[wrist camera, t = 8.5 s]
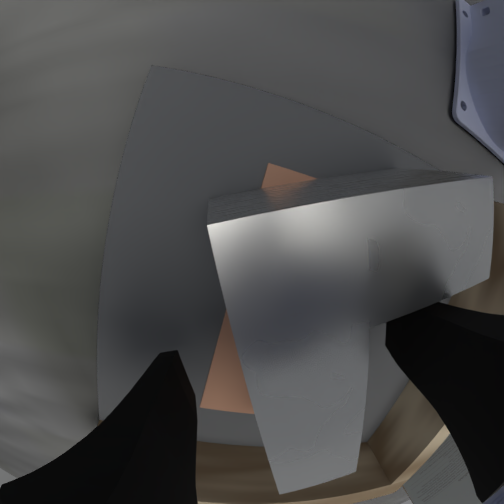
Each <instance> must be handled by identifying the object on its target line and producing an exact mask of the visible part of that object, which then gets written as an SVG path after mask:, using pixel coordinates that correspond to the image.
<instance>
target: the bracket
mask: <svg viewBox="0 0 504 504" xmlns="http://www.w3.org/2000/svg"><path fill="white" fill-rule="evenodd" d="M493 225H494V189H493V177H492V176H484V175H476V174H467V173H458V172H448V171H436V170H423V169H407V168H393V169H384V170H376V171H368V172H360V173H353V174H346V175H339V176H332V177H325V178H319V179H312V180H306V181H300V182H294V183H288V184H282V185H277V186H271V187H266V188H260V189H255V190H250V191H245V192H240V193H235V194H230V195H225V196H220V197H215V198H211V199H209V202H208V216H207V228H208V233H209V237H210V242H211V246H212V250H213V255H214V259H215V263H216V268H217V272H218V276H219V280H220V285H221V289H222V293H223V297H224V301H225V305H226V309H227V313H228V317H229V321H230V325H231V329H232V333H233V337H234V341H235V345H236V348H237V352H238V356H239V360H240V363H241V367H242V371H243V375H244V378H245V382H246V385H247V389H248V393H249V396H250V400H251V403H252V407H253V410H254V414H255V417H256V421H257V424H258V427H259V431H260V434H261V437H262V441H263V444H264V447H265V451H266V454H267V457H268V460H269V464H270V467H271V470H272V473H273V476H274V479H275V482H276V486H277V489H278V492H279V495H280V494H284V493H288V492H293V491H297V490H300V489H304V488H308V487H311V486H315V485H318V484H321V483H325V482H328V481H331V480H334V479H337V478H340V477H343V476H345V475H348V474H351V473H354V472H356V469H357V463H358V457H359V451H360V444H361V437H362V429H363V421H364V413H365V403H366V392H367V379H368V363H369V339H370V328H371V327H374V326H377V325H380V324H382V323H385V322H388V321H391V320H393V319H396V318H399V317H401V316H404V315H407V314H409V313H412V312H414V311H417V310H419V309H422V308H424V307H427V306H429V305H432V304H434V303H436V302H439V301H441V300H443V299H446V298H448V297H450V296H453V295H455V294H457V293H459V292H461V291H464V290H466V289H468V288H470V287H472V286H474V285H476V284H478V283H481V282H483V281H485V280H487V279H489V276H490V267H491V257H492V245H493Z"/></svg>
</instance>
